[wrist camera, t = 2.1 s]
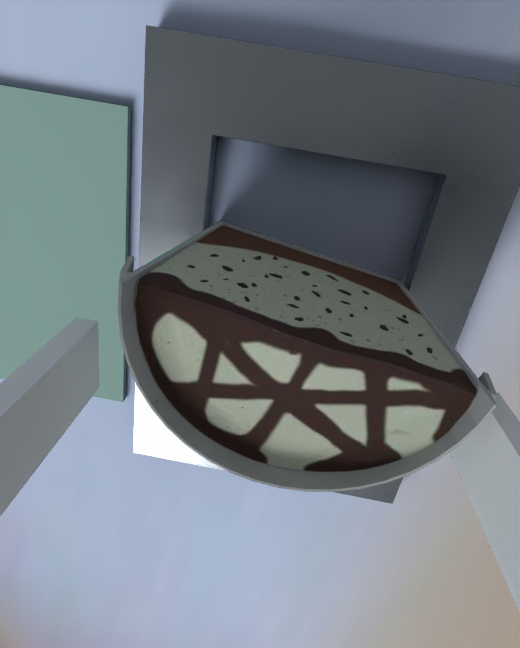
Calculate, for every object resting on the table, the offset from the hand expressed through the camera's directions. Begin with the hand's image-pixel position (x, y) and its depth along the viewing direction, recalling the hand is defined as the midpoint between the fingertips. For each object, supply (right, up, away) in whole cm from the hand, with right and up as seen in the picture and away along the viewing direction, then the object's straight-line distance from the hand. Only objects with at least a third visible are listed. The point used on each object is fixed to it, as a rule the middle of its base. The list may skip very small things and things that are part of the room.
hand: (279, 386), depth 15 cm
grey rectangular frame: (+1, +3, +7) cm, 8 cm away
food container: (+1, +3, +8) cm, 8 cm away
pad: (-13, +6, +8) cm, 16 cm away
